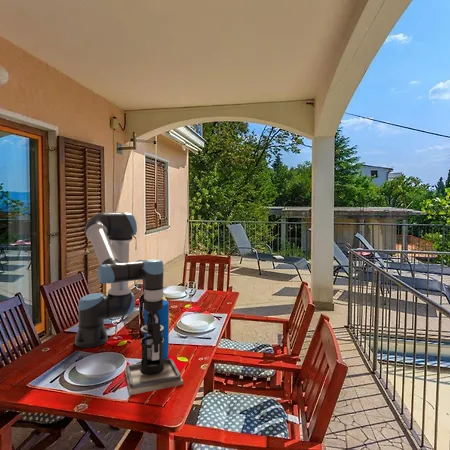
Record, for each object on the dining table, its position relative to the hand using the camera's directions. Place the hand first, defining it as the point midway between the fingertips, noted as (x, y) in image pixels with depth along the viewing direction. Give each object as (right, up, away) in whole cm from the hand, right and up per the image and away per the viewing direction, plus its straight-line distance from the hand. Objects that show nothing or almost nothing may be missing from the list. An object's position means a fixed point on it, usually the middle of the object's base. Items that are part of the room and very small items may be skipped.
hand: (153, 354), depth 133 cm
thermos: (-3, -9, +19) cm, 21 cm away
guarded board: (0, -10, +1) cm, 10 cm away
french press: (0, -6, +1) cm, 6 cm away
